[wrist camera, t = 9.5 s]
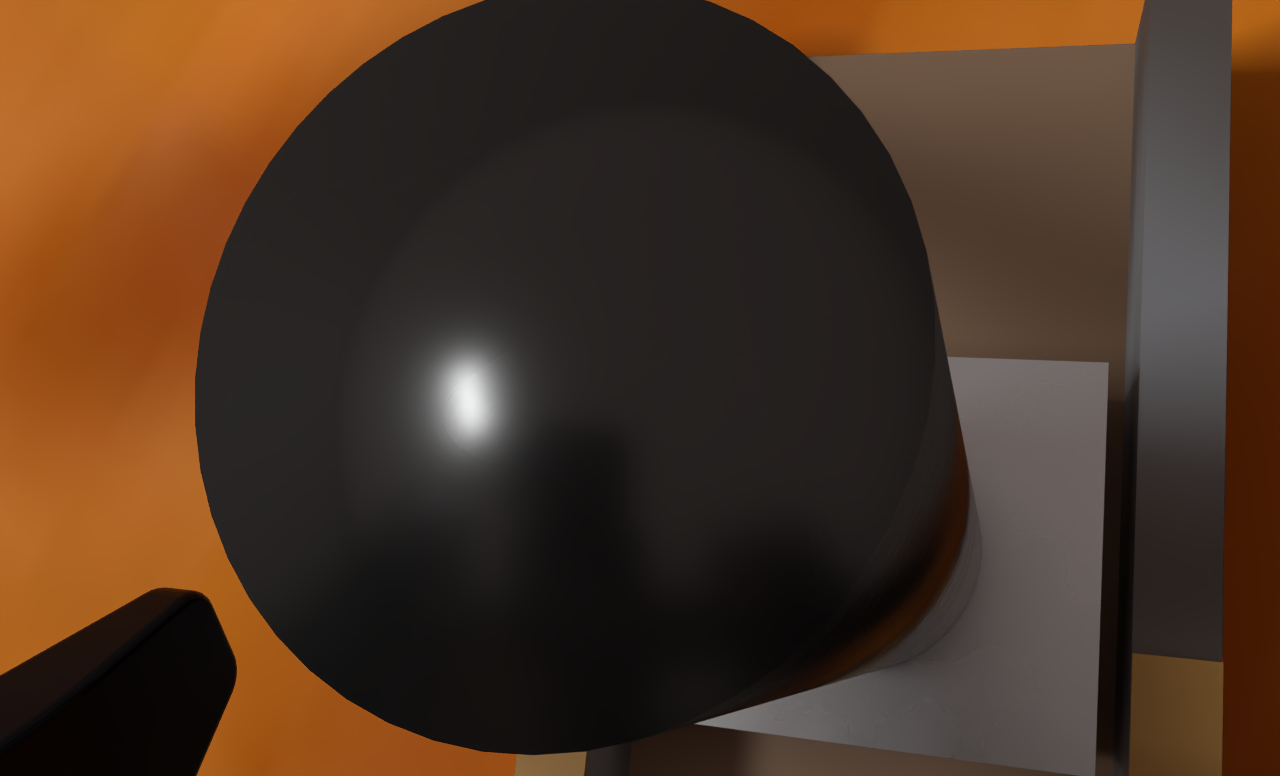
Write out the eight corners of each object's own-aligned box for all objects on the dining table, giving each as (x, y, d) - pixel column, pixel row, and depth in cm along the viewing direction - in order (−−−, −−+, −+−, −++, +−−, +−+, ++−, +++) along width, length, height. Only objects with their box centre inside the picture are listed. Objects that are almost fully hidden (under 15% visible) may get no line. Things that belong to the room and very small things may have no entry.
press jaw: (1083, 760, 16) (1380, 1210, 3) (654, 704, 18) (-156, 867, 5) (1096, 392, 17) (1366, -290, 4) (686, 375, 18) (55, -143, 6)
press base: (1165, 1631, 15) (1230, 2030, 11) (518, 1416, 17) (365, 1666, 13) (1197, 71, 18) (1256, -97, 14) (658, 88, 21) (572, -49, 17)
